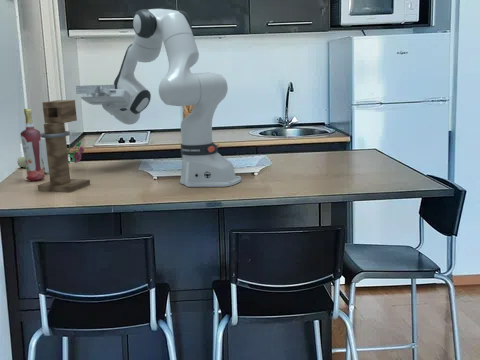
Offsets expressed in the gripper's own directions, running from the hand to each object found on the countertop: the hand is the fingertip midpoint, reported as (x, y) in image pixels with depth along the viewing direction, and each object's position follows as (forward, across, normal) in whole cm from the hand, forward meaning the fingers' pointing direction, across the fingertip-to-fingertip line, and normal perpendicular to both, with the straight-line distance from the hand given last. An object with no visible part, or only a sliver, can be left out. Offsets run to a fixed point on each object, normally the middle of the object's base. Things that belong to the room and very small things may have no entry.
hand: (95, 88), depth 237 cm
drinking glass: (-16, -24, +30) cm, 42 cm away
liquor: (-4, -21, +38) cm, 43 cm away
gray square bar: (-2, 0, +1) cm, 2 cm away
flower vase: (-22, -29, +27) cm, 46 cm away
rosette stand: (+5, 0, +43) cm, 43 cm away
